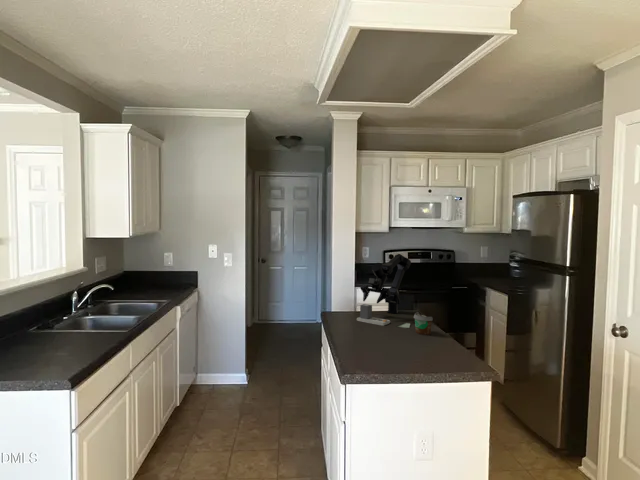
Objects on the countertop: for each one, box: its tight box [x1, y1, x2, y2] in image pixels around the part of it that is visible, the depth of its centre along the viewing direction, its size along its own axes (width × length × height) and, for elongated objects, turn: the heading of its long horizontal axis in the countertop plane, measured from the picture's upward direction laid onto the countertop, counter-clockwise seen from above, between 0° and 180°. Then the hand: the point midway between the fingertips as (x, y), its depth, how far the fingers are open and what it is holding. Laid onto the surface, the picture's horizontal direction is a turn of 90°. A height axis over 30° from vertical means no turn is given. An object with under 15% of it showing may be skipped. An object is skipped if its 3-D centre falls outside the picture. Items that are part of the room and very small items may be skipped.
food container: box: [413, 311, 433, 336], centre depth 237 cm, size 12×6×10 cm, turn 25°
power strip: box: [356, 316, 391, 326], centre depth 257 cm, size 18×8×3 cm, turn 53°
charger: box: [359, 303, 373, 319], centre depth 259 cm, size 5×5×9 cm
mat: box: [395, 322, 411, 329], centre depth 253 cm, size 9×9×1 cm
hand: (370, 302), depth 263 cm, fingers open, 9 cm apart
